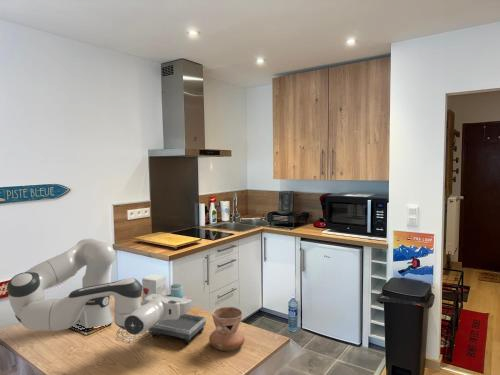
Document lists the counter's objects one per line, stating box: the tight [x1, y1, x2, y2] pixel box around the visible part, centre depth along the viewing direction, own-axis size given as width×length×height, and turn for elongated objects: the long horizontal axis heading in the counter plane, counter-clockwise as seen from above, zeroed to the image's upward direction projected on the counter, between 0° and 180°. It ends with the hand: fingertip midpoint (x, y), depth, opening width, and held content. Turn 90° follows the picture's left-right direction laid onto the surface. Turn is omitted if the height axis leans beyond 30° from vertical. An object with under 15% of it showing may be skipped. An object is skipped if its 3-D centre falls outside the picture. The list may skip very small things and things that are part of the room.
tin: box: [170, 283, 184, 298], centre depth 151 cm, size 5×5×11 cm
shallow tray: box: [148, 313, 207, 345], centre depth 153 cm, size 20×14×6 cm
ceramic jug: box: [208, 306, 246, 352], centre depth 144 cm, size 18×14×14 cm
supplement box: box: [141, 273, 167, 301], centre depth 185 cm, size 9×9×15 cm
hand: (178, 296), depth 152 cm, fingers closed on tin, 5 cm apart
